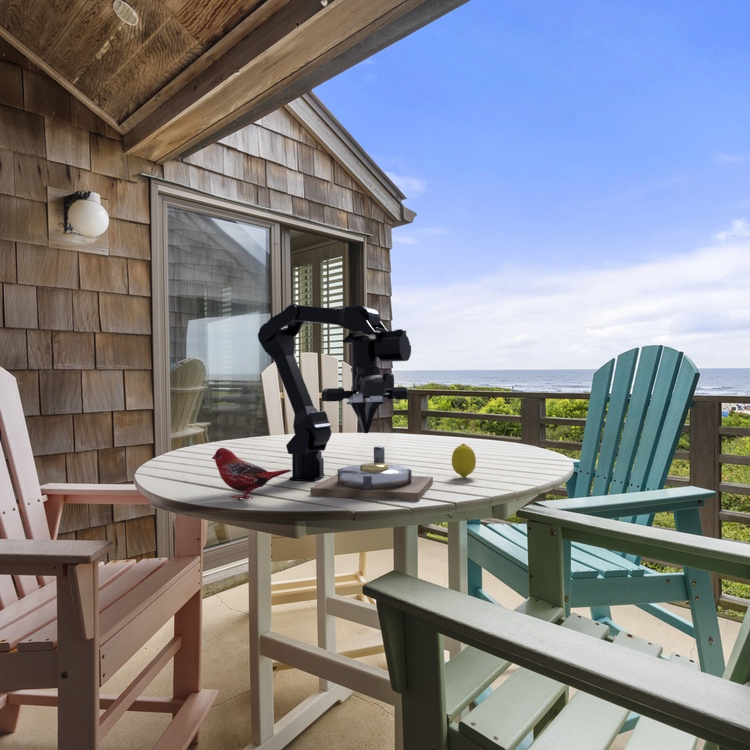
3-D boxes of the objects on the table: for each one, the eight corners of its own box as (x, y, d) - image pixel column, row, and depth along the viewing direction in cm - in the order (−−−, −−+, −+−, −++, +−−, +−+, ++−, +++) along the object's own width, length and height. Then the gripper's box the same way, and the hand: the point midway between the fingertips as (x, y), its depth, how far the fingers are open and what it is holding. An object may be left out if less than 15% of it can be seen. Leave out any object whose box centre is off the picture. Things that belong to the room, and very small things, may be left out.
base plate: (310, 495, 102) (310, 488, 102) (339, 479, 118) (338, 473, 118) (418, 500, 96) (418, 493, 96) (432, 483, 112) (432, 476, 113)
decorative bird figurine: (216, 495, 103) (215, 446, 103) (295, 501, 97) (294, 448, 98) (207, 499, 100) (207, 448, 100) (288, 504, 95) (287, 450, 95)
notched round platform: (407, 490, 98) (406, 456, 98) (328, 488, 101) (328, 455, 101) (415, 475, 114) (414, 446, 114) (347, 474, 116) (346, 445, 116)
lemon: (474, 475, 121) (474, 442, 121) (477, 480, 116) (476, 445, 116) (451, 475, 122) (450, 442, 122) (452, 480, 116) (452, 445, 116)
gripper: (331, 361, 103) (333, 438, 102) (417, 360, 109) (418, 434, 108) (320, 363, 113) (321, 433, 113) (398, 363, 119) (400, 430, 119)
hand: (365, 433), depth 113 cm, fingers closed
